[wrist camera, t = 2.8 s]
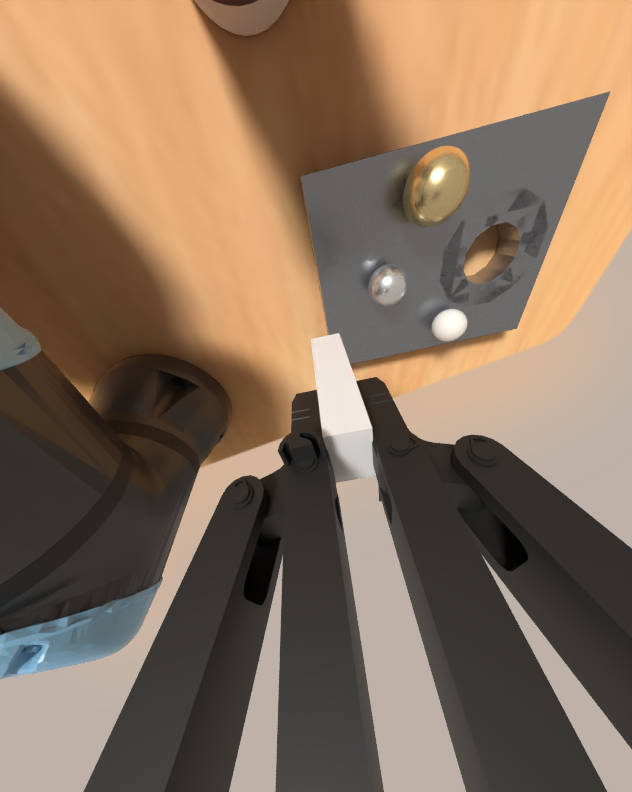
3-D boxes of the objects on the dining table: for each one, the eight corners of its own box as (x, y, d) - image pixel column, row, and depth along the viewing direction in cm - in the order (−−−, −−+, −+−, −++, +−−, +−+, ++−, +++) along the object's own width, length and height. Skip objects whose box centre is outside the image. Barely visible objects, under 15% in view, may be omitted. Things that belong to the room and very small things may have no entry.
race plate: (331, 356, 28) (334, 367, 26) (300, 179, 18) (301, 175, 16) (500, 319, 26) (516, 328, 25) (572, 104, 16) (610, 91, 14)
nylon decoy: (424, 336, 24) (438, 349, 22) (428, 308, 22) (443, 320, 20) (453, 329, 24) (470, 343, 22) (459, 301, 22) (478, 312, 20)
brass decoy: (394, 231, 18) (414, 236, 15) (395, 160, 16) (420, 149, 12) (445, 218, 18) (476, 221, 15) (455, 144, 15) (495, 129, 12)
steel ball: (365, 303, 22) (374, 315, 19) (363, 265, 19) (373, 274, 17) (399, 295, 21) (413, 306, 19) (400, 256, 19) (416, 263, 17)
